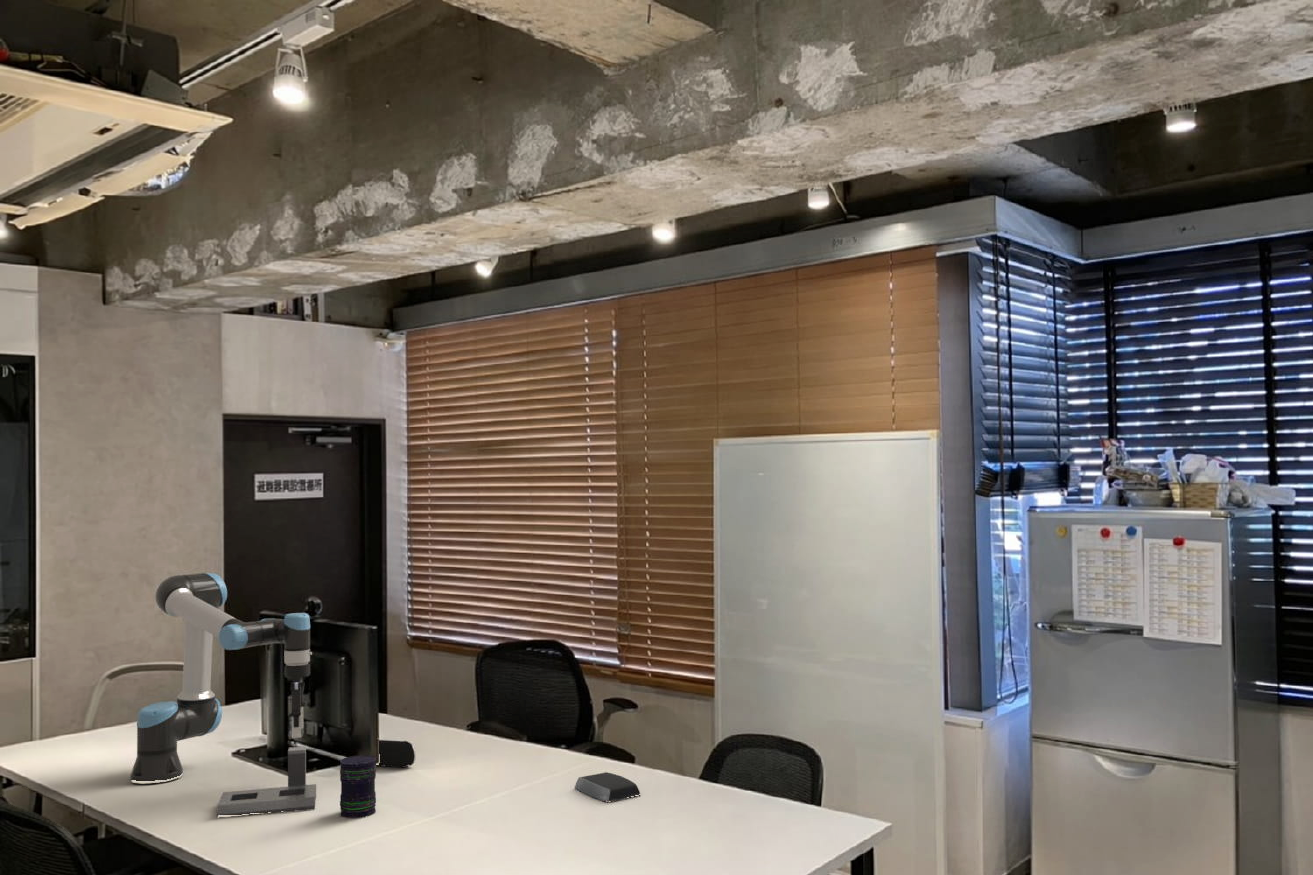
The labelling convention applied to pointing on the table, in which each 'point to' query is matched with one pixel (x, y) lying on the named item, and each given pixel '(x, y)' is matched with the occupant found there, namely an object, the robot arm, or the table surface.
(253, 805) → the socket board
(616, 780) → the external hard drive
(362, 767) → the storage jar
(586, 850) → the table surface
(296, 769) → the plug
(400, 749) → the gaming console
